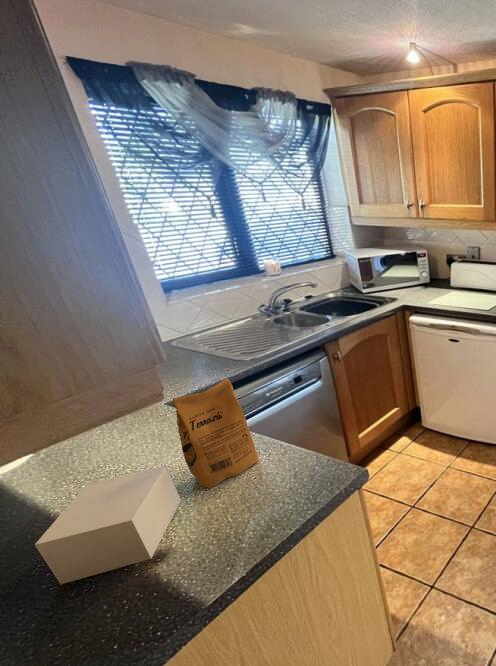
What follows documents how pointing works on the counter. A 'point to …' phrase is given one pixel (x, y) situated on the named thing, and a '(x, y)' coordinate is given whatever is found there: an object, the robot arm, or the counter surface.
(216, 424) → the coffee package
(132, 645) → the counter surface
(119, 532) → the beige rectangular block
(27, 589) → the counter surface
